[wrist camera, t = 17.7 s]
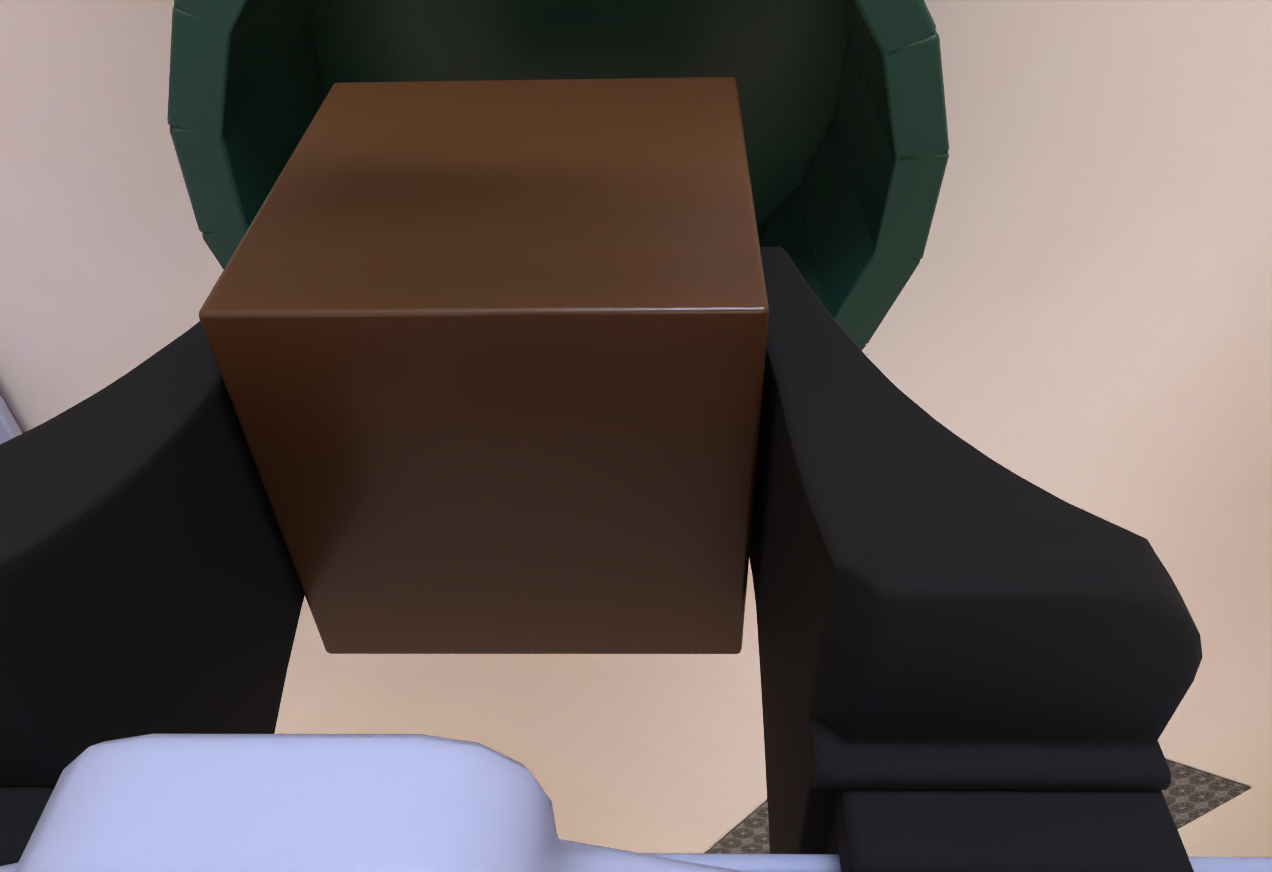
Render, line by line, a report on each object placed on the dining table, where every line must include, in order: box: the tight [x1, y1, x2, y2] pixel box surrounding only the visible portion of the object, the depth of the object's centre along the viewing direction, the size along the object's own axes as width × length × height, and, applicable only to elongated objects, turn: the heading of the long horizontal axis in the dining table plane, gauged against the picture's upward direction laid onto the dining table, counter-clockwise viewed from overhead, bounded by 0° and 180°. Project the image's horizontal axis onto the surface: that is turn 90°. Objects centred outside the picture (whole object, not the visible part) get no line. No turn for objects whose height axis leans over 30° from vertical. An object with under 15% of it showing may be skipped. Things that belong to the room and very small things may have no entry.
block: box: [199, 77, 769, 654], centre depth 12 cm, size 5×5×5 cm
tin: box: [168, 0, 949, 350], centre depth 17 cm, size 12×12×5 cm
